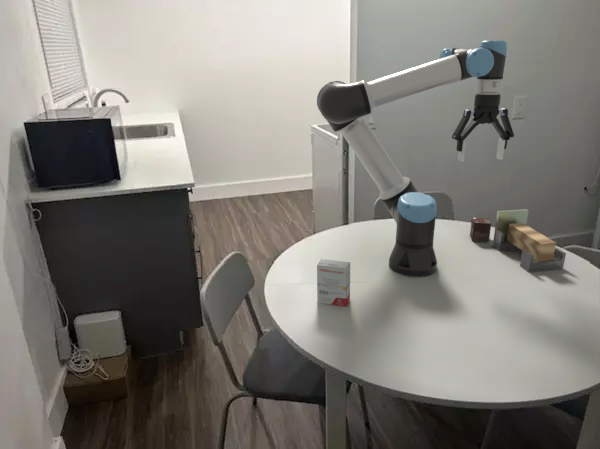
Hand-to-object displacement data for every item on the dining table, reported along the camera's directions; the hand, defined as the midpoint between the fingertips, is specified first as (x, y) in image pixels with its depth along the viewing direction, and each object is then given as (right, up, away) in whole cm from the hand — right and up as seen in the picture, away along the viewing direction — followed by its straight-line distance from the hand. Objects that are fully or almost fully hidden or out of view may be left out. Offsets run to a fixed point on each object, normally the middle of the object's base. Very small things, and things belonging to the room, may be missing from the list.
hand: (480, 160), depth 153 cm
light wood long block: (+17, -30, +2) cm, 34 cm away
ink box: (-50, -43, -22) cm, 69 cm away
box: (+7, -27, +20) cm, 34 cm away
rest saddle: (+18, -35, -4) cm, 40 cm away
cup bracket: (+16, -29, +11) cm, 35 cm away
